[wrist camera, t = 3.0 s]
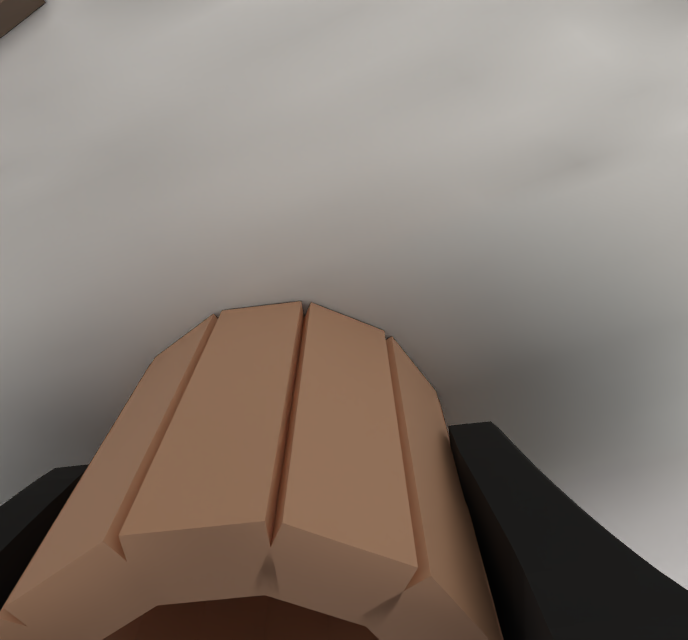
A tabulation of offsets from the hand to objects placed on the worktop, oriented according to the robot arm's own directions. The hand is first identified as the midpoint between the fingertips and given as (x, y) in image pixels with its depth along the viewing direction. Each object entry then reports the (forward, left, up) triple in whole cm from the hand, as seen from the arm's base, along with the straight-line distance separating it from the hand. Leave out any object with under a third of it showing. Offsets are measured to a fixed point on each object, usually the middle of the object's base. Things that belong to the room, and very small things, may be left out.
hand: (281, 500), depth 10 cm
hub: (0, 0, -1) cm, 1 cm away
